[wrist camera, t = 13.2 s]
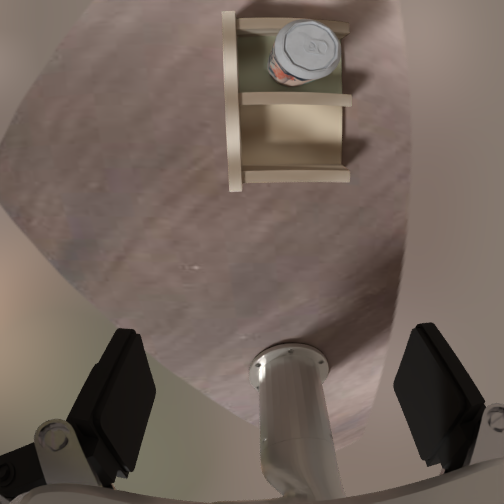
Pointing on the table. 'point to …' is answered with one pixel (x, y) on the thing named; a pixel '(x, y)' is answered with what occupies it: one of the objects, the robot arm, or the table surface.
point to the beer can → (303, 53)
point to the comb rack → (278, 111)
